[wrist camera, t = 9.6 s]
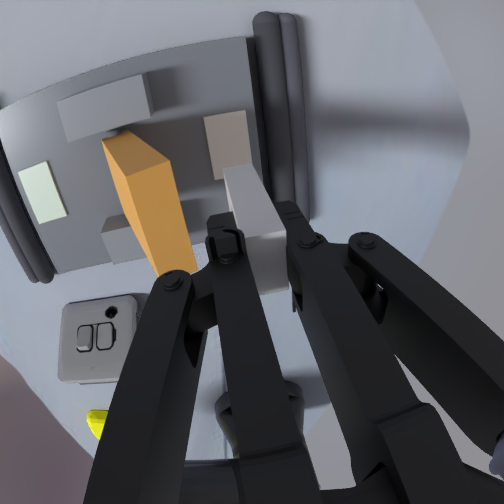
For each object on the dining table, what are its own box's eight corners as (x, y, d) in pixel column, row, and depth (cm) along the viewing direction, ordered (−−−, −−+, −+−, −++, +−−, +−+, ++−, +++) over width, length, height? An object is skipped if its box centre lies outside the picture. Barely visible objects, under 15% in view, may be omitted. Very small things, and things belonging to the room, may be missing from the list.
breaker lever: (147, 203, 24) (199, 274, 17) (123, 213, 24) (164, 290, 16) (125, 124, 20) (168, 153, 13) (99, 134, 20) (123, 170, 12)
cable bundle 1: (59, 273, 30) (54, 285, 28) (35, 278, 30) (30, 290, 28) (-11, 94, 18) (-23, 99, 16) (-36, 109, 18) (-47, 115, 16)
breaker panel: (261, 212, 30) (274, 245, 26) (66, 254, 29) (51, 290, 25) (239, 38, 21) (251, 34, 16) (10, 105, 19) (-23, 121, 15)
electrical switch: (135, 291, 33) (130, 367, 26) (149, 320, 37) (148, 390, 30) (62, 302, 32) (47, 372, 26) (81, 328, 36) (72, 394, 29)
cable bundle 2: (306, 222, 32) (313, 233, 30) (273, 228, 32) (278, 240, 30) (291, 11, 20) (299, 8, 18) (248, 13, 20) (253, 10, 18)
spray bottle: (141, 410, 49) (154, 452, 63) (82, 406, 46) (110, 450, 60) (141, 424, 46) (155, 463, 60) (81, 420, 44) (110, 461, 58)
